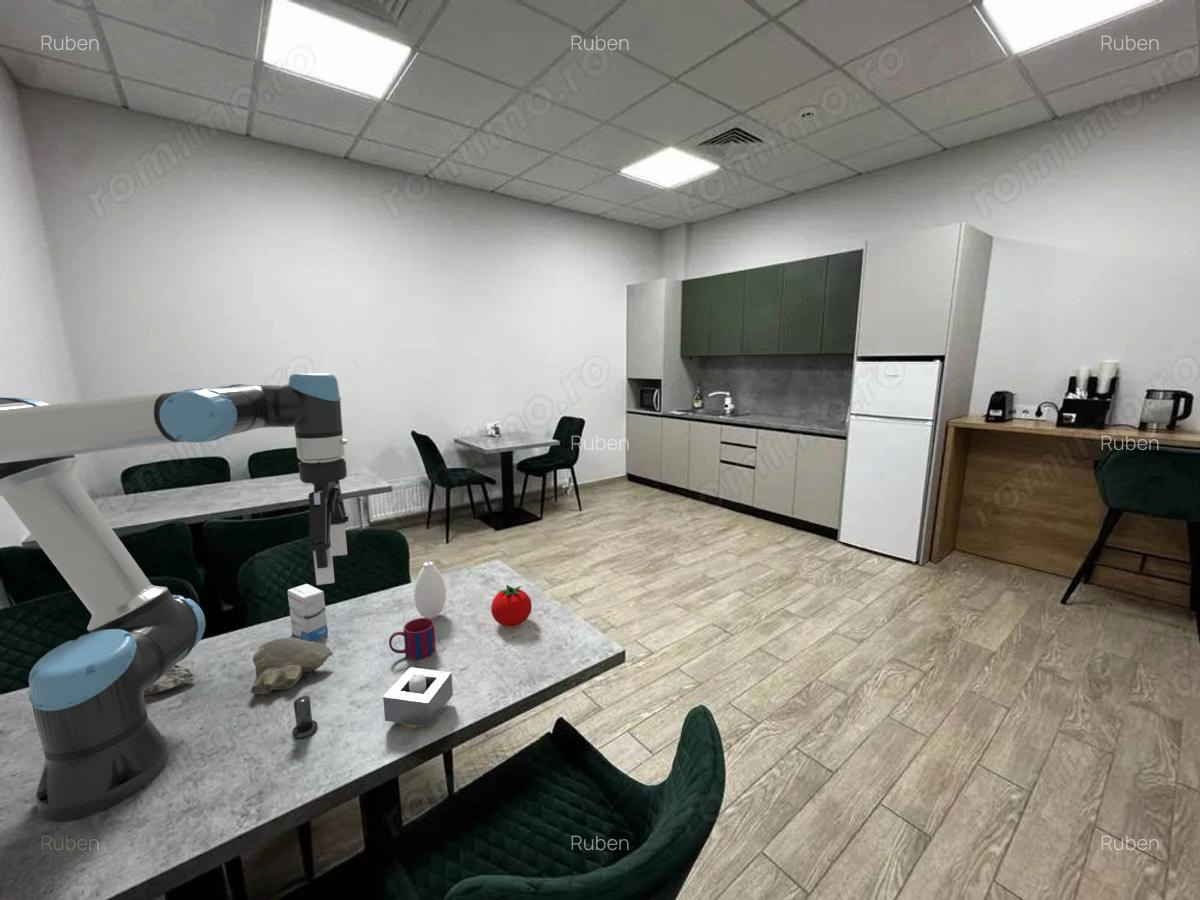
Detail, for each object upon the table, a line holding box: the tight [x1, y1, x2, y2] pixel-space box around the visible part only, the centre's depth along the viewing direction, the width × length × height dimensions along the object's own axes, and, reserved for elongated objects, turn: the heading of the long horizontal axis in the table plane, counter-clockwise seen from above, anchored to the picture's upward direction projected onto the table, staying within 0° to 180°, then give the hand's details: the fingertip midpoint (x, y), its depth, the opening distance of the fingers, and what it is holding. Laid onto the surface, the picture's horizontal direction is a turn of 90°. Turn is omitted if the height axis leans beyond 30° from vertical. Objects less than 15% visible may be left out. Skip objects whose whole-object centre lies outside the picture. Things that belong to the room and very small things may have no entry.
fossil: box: [250, 637, 334, 695], centre depth 105 cm, size 14×10×10 cm
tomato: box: [490, 584, 532, 628], centre depth 127 cm, size 10×10×10 cm
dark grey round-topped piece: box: [291, 695, 319, 740], centre depth 90 cm, size 4×4×6 cm
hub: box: [401, 674, 426, 728], centre depth 94 cm, size 7×7×8 cm
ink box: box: [287, 583, 329, 642], centre depth 122 cm, size 8×5×12 cm, turn 58°
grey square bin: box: [382, 667, 454, 728], centre depth 94 cm, size 9×9×5 cm
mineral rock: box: [144, 664, 197, 696], centre depth 103 cm, size 15×8×4 cm, turn 74°
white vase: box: [413, 553, 447, 620], centre depth 129 cm, size 8×8×18 cm
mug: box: [388, 617, 437, 661], centre depth 114 cm, size 7×10×7 cm
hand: (333, 568), depth 93 cm, fingers open, 13 cm apart
